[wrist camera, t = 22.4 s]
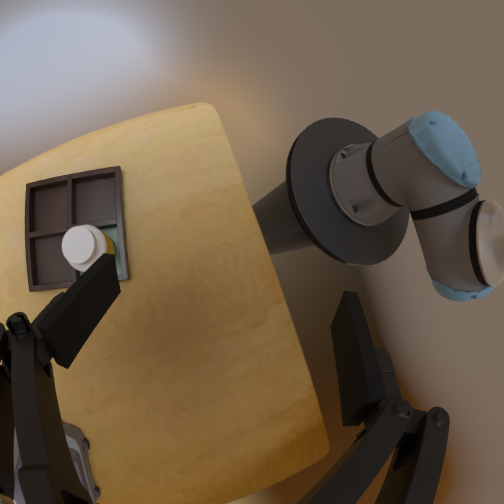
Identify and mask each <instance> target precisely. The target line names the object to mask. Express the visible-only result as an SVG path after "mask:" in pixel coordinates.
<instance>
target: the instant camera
mask: <svg viewBox="0 0 504 504" xmlns="http://www.w3.org/2000/svg"><path fill="white" fill-rule="evenodd" d="M62 424H63V428H64V432H65V436H66V440H67V443H68V447H69V450H70V453H71V456H72V460H73V463H74V466H75V468H76V471H77V474H78V477H79V479H80V481H81V483H82V485H83V486H84V487H85V488H86V490H87V491H88V493H89V495H90V497H91V499H92V501H93V503H94V504H96V500H97V498H99V496H100V492H99V490H98V489H97V488H95V484H94V480H93V477H92V473H91V468H90V464H89V460H88V455H87V452H88V450H89V444H88V442H87V441H86V440H85V439H84V435H83V434H82V432H81V430H80V429H79V428H77V427H75V426H73V425H72V424H68V423H64V422H62ZM21 467H22V462H21V458H20V453H19V448H18V442H17V436H16V429H15V433H14V480H15V490H14V501H13V502H14V504H26V503H25V500H24V497H23V494H22V490H21V487H20V483H19V480H18V470H19V469H20V468H21Z"/></svg>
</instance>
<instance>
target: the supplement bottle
mask: <svg viewBox="0 0 504 504" xmlns="http://www.w3.org/2000/svg"><path fill="white" fill-rule="evenodd" d="M62 251H63V254H64V256H65V258H66V259H67V260H68V262H69V263H70V265H71V266H72V267H73V268H75V269H76V270H79V271H82V272H85V271H86V270H87V269H88V268H89V267H90V266H91V265H92V264H93V263H94V262H95V261H96V260H97V259H98V258H99V257H100V256H101V255H102V254H103V253H108V254H114V256H115V258H116V248H115V245H114V243H113V241H112V240H111V239H110V238H109V237H108V236H107V235H106V234H104V233H103V232H102V231H100V230H99V229H98V228H96V227H94V226H91V225H81V226H76V227H73V228H71V229H69V230H68V231H67V232H66V234H65V235H64V237H63V240H62Z"/></svg>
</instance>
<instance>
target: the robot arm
mask: <svg viewBox="0 0 504 504" xmlns="http://www.w3.org/2000/svg"><path fill="white" fill-rule="evenodd" d="M478 163H479V161H478V158H477V155H476V153H475V151H474V148H473V146H472V145H471V143H470V141H469V139H468V138H467V136H466V135H465V133H464V132H463V131H462V129H461V128H460V127H459V126H458V125H457V124H456V123H455V122H454V121H453V120H452V119H451V118H450V117H448V116H447V115H445V114H443V113H441V112H438V111H428V112H426V113H424V114H422V115H419V116H417V117H413V118H410V119H409V121H407V122H406V123H405V124H403V125H401V126H399V127H398V128H396V129H394V130H393V131H391V132H389V133H388V134H386V135H384V136H382V137H381V138H379V139H377V140H376V141H374V142H372V143H366V144H358V145H355V144H351V145H349V146H347V147H345V148H343V149H341V150H339V151H338V152H337V153H335V154H334V155H333V157H332V158H331V160H330V162H329V164H328V168H327V184H328V189H329V192H330V195H331V198H332V200H333V202H334V204H335V205H336V207H337V208H338V210H339V211H340V212H341V214H342V215H343V216H344V217H345V218H347V219H348V220H349V221H350V222H352V223H354V224H356V225H358V226H362V227H370V226H375V225H378V224H380V223H382V222H384V221H385V220H387V219H388V218H389V217H390V216H391V215H393V214H394V213H395V212H396V211H397V210H398V209H400V208H401V207H404V206H408V209H409V211H410V214H411V217H412V219H413V222H414V225H415V228H416V231H417V235H418V238H419V241H420V244H421V248H422V251H423V255H424V258H425V262H426V268H427V271H428V274H429V275H430V277H431V281H432V284H433V286H434V288H435V290H436V291H437V292H438V293H439V294H440V295H441V296H443V297H444V298H447V299H449V300H453V301H470V300H471V299H472V298H475V299H479V298H481V297H483V296H485V295H487V294H488V293H489V292H490V291H491V290H492V289H493V288H494V286H498V285H499V284H501V282H502V281H503V280H504V208H503V209H502V208H501V206H500V205H499V204H497V202H495V201H494V200H492V199H490V200H483V201H480V200H479V197H478V196H479V194H477V191H476V188H475V187H476V186H477V184H478V183H479V182H480V180H481V170H480V167H479V164H478ZM120 293H121V290H120V285H119V280H118V274H117V268H116V262H115V256H114V254H108V253H103V254H102V255H101V256H100V257H99V258H98V259H97V260H96V261H95V262H94V263H93V264H92V265H91V266H90V267H89V268H88V269H87V270H86V271H85V272H84V273H83V274H82V275H81V276H80V277H79V278H78V279H77V281H76V282H75V283H74V284H73V285H72V286H71V287H70V288H69V289H68V290H67V291H66V292H65V293H64V292H61V293H60V294H58V295H57V296H55V297H54V298H53V299H52V300H51V301H50V302H49V304H48V305H47V306H46V307H45V309H43V310H42V311H41V313H40V314H39V315H38V316H37V317H36V318H35V320H34V321H33V322H32V323H31V324H30V322H29V320H28V318H27V316H26V314H25V313H22V312H17V313H14V314H12V315H11V316H10V317H9V318H8V319H7V322H6V325H7V327H8V329H9V330H6V329H5V327H4V325H3V324H2V323H0V362H1V360H2V365H0V504H14V502H13V501H14V490H15V480H14V433H15V429H16V436H17V442H18V448H19V453H20V458H21V462H22V467H21V468H20V469H19V470H18V480H19V483H20V487H21V490H22V494H23V497H24V500H25V503H26V504H94V503H93V501H92V499H91V497H90V495H89V493H88V491H87V490H86V488H85V487H84V486H83V485H82V483H81V481H80V479H79V477H78V474H77V471H76V468H75V466H74V463H73V460H72V456H71V453H70V450H69V447H68V443H67V440H66V436H65V432H64V428H63V424H62V420H61V415H60V411H59V406H58V401H57V395H56V390H55V383H54V376H53V369H52V364H51V362H50V360H51V359H52V357H53V358H54V359H55V361H56V363H57V364H58V365H60V366H62V367H64V368H66V369H68V368H69V367H70V365H71V363H72V362H73V360H74V359H75V357H76V356H77V354H78V352H79V351H80V349H81V348H82V346H83V345H84V343H85V342H86V340H87V339H88V337H89V336H90V334H91V333H92V332H93V330H94V329H95V327H96V326H97V324H98V323H99V321H100V320H101V319H102V317H103V316H104V314H105V313H106V312H107V310H108V309H109V307H110V306H111V305H112V303H113V302H114V301H115V299H116V298H117V297H118V295H119V294H120ZM330 328H331V335H332V341H333V348H334V354H335V362H336V369H337V376H338V384H339V393H340V401H341V410H342V420H343V426H359V425H360V424H361V422H363V421H364V425H365V428H364V429H363V430H362V431H361V432H360V433H359V434H358V435H356V437H357V438H356V439H355V440H354V441H353V443H352V444H351V445H350V446H349V448H348V449H347V450H346V451H345V453H344V454H343V455H342V456H341V457H340V459H339V460H338V461H337V462H336V463H335V465H334V466H333V467H332V468H331V469H330V470H329V471H328V472H327V473H326V474H325V475H324V476H323V478H322V479H321V480H320V481H319V482H318V483H317V484H316V485H315V486H314V487H313V488H312V489H311V490H310V491H309V492H308V493H307V494H306V495H305V496H304V497H303V498H302V499H300V500H299V501H298V502H297V503H296V504H355V503H356V502H357V501H358V499H359V498H360V497H361V496H362V494H363V493H364V492H365V491H366V489H367V488H368V487H369V485H370V484H371V482H372V481H373V480H374V478H375V477H376V476H377V474H378V473H379V471H380V470H381V468H382V467H383V465H384V464H385V462H386V461H387V459H388V458H389V456H390V454H391V453H392V451H393V450H394V448H395V447H396V448H395V451H394V454H393V457H392V460H391V463H390V466H389V469H388V472H387V474H386V477H385V480H384V483H383V485H382V487H381V490H380V493H379V495H378V497H377V499H376V502H375V504H433V501H434V498H435V494H436V491H437V487H438V483H439V479H440V475H441V471H442V466H443V461H444V456H445V451H446V445H447V439H448V432H449V424H450V420H449V415H448V413H447V412H446V411H445V410H444V409H443V408H441V407H433V408H432V409H430V410H429V411H428V412H425V411H420V410H416V409H413V408H412V407H411V405H410V403H408V401H406V400H405V399H403V398H402V396H401V392H400V389H399V385H398V382H397V379H396V375H395V373H394V368H393V366H392V361H391V358H390V355H389V354H388V352H387V351H386V350H385V348H383V347H374V345H373V341H372V338H371V335H370V331H369V328H368V325H367V321H366V318H365V315H364V312H363V309H362V306H361V303H360V300H359V297H358V294H357V292H351V291H344V293H343V296H342V299H341V301H340V304H339V306H338V309H337V311H336V314H335V317H334V319H333V322H332V324H331V327H330ZM97 504H98V503H97Z"/></svg>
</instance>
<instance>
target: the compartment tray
mask: <svg viewBox="0 0 504 504" xmlns="http://www.w3.org/2000/svg"><path fill="white" fill-rule="evenodd" d="M81 225H91V226H94V227H96V228H98V229H99V230H100V231H102V232H103V233H104V234H106V235H107V236H108V237H109V238H110V239H111V240H112V241H113V243H114V245H115V248H116V258H115V262H116V268H117V274H118V280H119V281H122V280H129V279H130V271H129V264H128V255H127V246H126V235H125V223H124V207H123V183H122V170H121V167H120V166H116V167H109V168H103V169H96V170H90V171H85V172H79V173H74V174H69V175H63V176H58V177H54V178H49V179H45V180H40V181H36V182H32V183H28V184H26V199H25V248H26V264H27V275H28V284H29V291H30V292H34V291H43V290H51V289H59V288H67V287H71V286H72V285H73V284H74V283H75V282H76V281H77V279H78V278H79V277H80V276H81V275H82V274H83V273H84V272H82V271H79V270H76V269H75V268H73V267H72V266H71V265H70V263H69V262H68V260H67V259H66V258H65V256H64V254H63V251H62V240H63V237H64V235H65V234H66V232H67V231H68V230H69V229H71V228H73V227H76V226H81Z"/></svg>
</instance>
